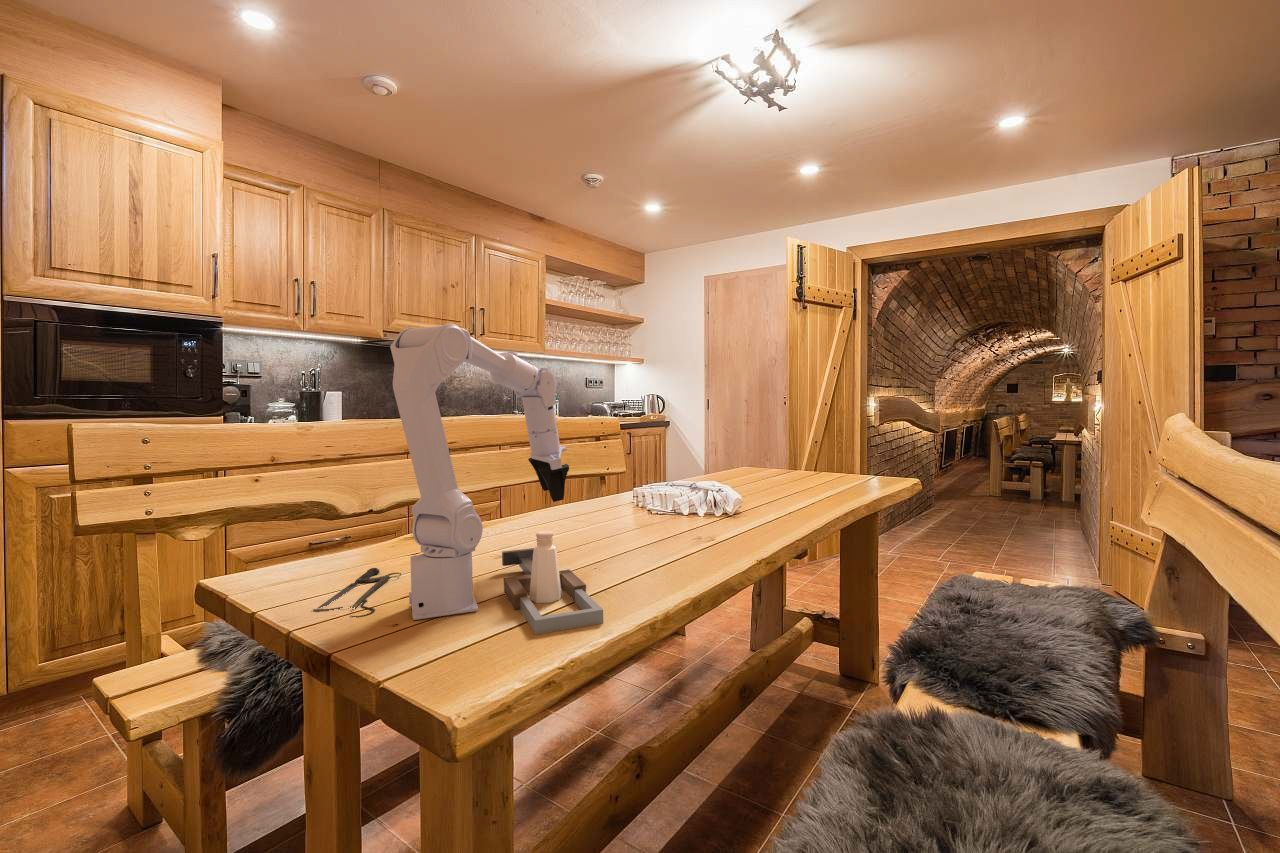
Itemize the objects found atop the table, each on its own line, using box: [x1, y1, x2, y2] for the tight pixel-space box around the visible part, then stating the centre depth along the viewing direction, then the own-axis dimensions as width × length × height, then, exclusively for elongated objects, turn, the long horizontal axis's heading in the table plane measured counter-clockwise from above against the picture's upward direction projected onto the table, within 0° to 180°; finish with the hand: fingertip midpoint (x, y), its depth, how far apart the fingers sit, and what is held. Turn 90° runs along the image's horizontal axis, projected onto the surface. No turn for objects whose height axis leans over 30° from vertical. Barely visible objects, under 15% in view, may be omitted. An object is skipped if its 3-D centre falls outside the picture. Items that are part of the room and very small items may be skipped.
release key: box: [501, 547, 535, 575], centre depth 105 cm, size 8×14×3 cm, turn 23°
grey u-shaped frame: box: [519, 589, 604, 635], centre depth 86 cm, size 10×10×2 cm
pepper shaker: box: [528, 530, 563, 604], centre depth 94 cm, size 5×5×11 cm
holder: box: [503, 569, 587, 611], centre depth 95 cm, size 12×10×2 cm
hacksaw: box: [311, 567, 402, 618], centre depth 99 cm, size 24×10×2 cm, turn 2°
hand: (553, 494), depth 114 cm, fingers open, 7 cm apart
